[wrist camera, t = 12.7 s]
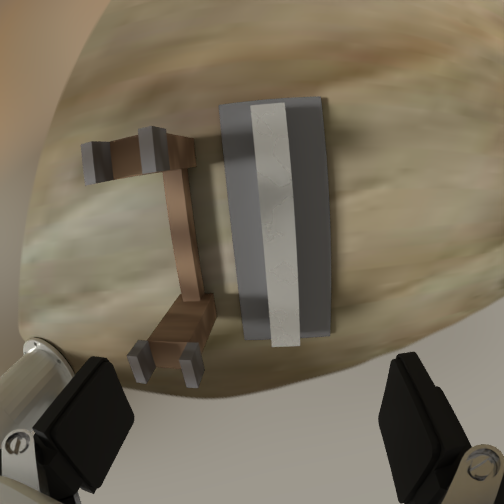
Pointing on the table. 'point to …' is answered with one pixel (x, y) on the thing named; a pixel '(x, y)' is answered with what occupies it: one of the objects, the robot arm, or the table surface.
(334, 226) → the table surface
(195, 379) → the rack
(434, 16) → the table surface
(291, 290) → the rail
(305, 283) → the mat
